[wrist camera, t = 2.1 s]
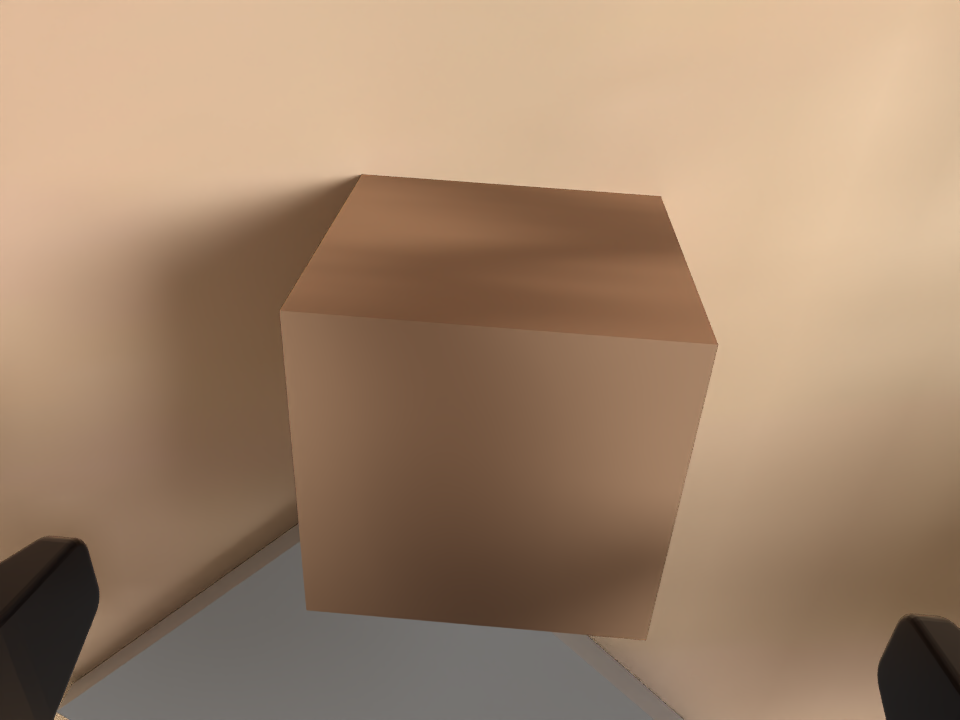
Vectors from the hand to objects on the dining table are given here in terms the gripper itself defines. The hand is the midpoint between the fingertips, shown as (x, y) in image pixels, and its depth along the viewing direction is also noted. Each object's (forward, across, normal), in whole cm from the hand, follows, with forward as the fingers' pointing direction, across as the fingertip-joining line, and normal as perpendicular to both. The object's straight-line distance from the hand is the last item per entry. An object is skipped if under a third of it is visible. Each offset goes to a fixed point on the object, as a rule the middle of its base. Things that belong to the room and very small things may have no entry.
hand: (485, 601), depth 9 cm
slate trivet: (+7, +2, +12) cm, 14 cm away
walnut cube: (+7, 0, 0) cm, 7 cm away
